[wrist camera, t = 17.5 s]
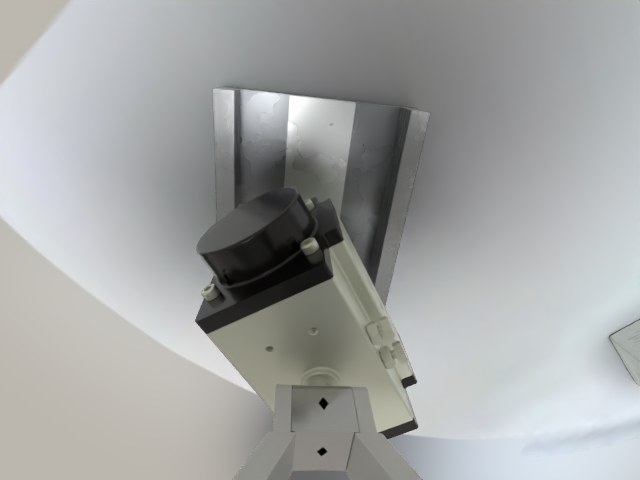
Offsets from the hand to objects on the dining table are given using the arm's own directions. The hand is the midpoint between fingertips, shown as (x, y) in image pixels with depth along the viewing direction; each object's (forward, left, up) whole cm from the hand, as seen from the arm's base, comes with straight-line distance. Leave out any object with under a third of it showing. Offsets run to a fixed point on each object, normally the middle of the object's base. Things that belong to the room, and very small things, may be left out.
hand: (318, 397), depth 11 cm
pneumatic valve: (0, +1, -12) cm, 12 cm away
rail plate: (0, 0, -14) cm, 14 cm away
